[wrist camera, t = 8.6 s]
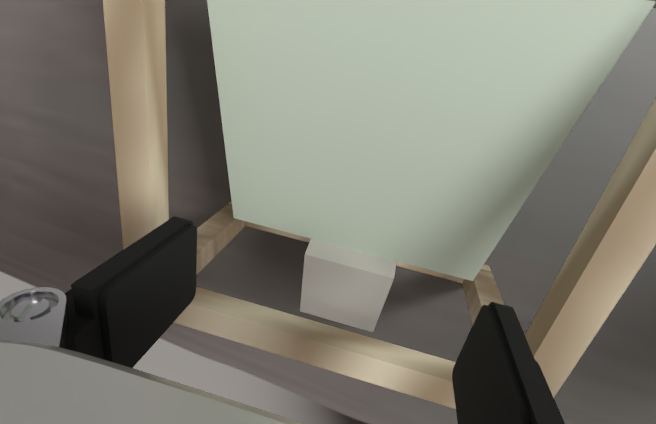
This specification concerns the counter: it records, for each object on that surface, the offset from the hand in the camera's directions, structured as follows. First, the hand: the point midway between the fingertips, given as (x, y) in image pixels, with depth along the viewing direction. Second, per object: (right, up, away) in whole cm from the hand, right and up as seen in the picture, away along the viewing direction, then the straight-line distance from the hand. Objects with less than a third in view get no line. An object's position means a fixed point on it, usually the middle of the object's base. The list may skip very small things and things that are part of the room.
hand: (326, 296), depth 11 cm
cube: (+2, +1, +10) cm, 10 cm away
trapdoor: (+2, +7, +5) cm, 8 cm away
